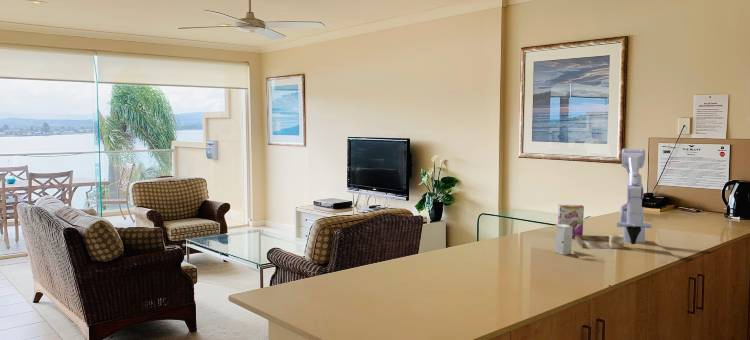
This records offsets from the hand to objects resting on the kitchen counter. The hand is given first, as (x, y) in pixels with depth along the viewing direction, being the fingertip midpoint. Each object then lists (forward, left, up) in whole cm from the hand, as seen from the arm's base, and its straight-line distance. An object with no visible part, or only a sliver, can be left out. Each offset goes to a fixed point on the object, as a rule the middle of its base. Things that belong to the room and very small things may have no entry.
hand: (633, 243), depth 258 cm
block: (+7, 0, -2) cm, 7 cm away
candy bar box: (+23, -23, -3) cm, 33 cm away
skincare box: (+31, +12, -3) cm, 33 cm away
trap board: (+13, -5, -3) cm, 14 cm away
